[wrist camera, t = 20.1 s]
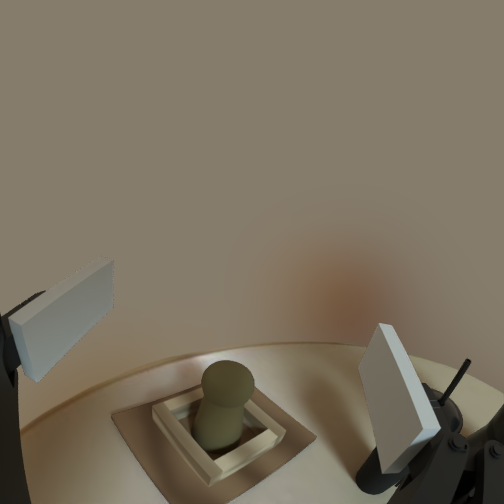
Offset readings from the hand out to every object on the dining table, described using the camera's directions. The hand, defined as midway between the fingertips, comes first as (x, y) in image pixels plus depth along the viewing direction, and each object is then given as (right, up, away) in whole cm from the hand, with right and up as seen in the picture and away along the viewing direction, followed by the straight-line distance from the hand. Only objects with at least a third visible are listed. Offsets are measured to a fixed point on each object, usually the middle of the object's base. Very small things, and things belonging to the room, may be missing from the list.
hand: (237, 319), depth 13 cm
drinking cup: (+15, -25, +12) cm, 32 cm away
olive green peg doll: (-4, -19, +17) cm, 25 cm away
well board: (-4, -19, +17) cm, 26 cm away
